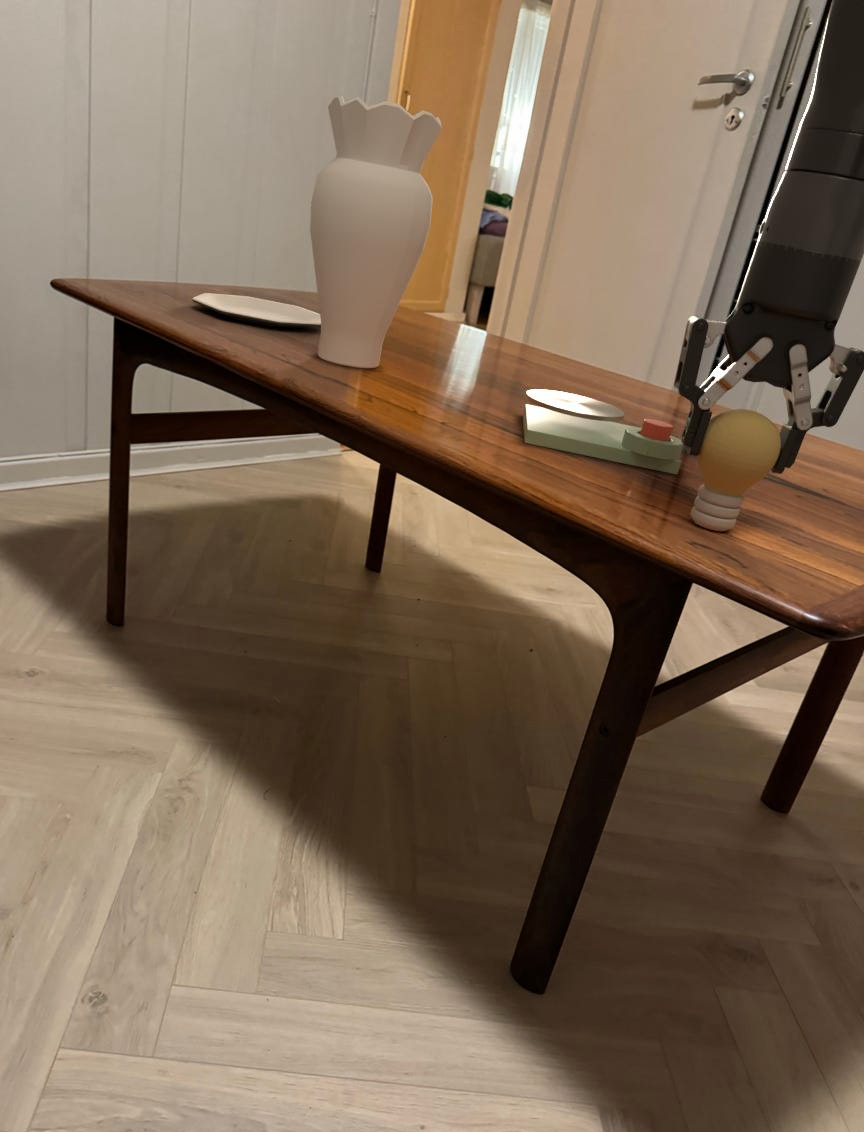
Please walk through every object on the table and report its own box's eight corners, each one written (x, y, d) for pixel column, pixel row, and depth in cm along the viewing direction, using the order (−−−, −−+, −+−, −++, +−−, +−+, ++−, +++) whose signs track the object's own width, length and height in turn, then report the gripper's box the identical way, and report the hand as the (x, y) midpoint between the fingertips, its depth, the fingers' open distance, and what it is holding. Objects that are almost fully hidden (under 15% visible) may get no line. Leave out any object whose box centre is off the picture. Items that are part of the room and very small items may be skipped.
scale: (657, 443, 105) (665, 418, 104) (678, 477, 92) (688, 448, 91) (522, 415, 106) (529, 390, 105) (524, 444, 92) (531, 415, 91)
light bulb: (657, 512, 78) (694, 397, 74) (709, 512, 81) (747, 402, 77) (710, 541, 74) (754, 419, 69) (763, 540, 77) (808, 423, 72)
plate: (170, 300, 137) (171, 289, 136) (276, 308, 150) (277, 298, 149) (243, 330, 124) (244, 318, 124) (351, 335, 137) (353, 325, 137)
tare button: (665, 439, 95) (670, 422, 94) (670, 445, 92) (675, 429, 91) (637, 433, 95) (642, 416, 94) (641, 439, 92) (646, 422, 91)
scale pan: (618, 407, 105) (619, 403, 104) (629, 427, 95) (630, 423, 95) (524, 388, 105) (525, 384, 105) (526, 406, 95) (527, 401, 95)
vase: (317, 343, 125) (350, 104, 113) (416, 367, 122) (462, 125, 110) (273, 354, 113) (305, 85, 100) (383, 381, 110) (431, 108, 97)
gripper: (725, 228, 65) (653, 455, 72) (926, 268, 64) (833, 493, 71) (705, 227, 71) (641, 434, 79) (887, 263, 71) (805, 468, 78)
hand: (733, 461), depth 75 cm, fingers closed on light bulb, 6 cm apart
